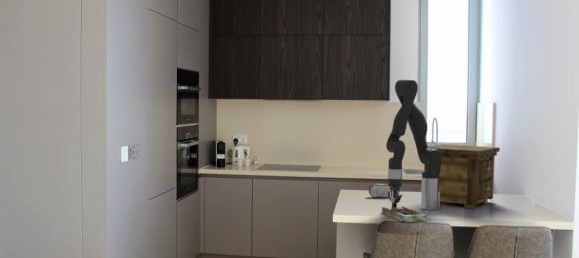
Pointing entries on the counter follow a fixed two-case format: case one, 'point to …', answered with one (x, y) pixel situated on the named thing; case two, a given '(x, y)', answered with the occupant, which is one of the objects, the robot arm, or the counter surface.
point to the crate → (466, 173)
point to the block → (398, 209)
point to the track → (411, 216)
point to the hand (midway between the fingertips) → (394, 210)
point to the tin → (379, 190)
